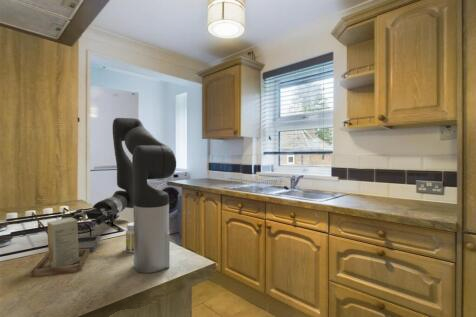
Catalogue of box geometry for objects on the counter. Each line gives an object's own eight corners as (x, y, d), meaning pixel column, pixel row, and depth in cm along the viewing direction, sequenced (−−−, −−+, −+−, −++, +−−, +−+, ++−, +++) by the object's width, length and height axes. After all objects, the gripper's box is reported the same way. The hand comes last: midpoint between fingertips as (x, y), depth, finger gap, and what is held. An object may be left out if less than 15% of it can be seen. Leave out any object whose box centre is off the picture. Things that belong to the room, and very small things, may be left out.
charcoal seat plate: (100, 239, 92) (100, 235, 92) (94, 251, 81) (94, 247, 81) (63, 242, 88) (63, 238, 88) (52, 255, 78) (52, 251, 78)
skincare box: (73, 258, 77) (73, 216, 76) (79, 262, 74) (78, 219, 73) (47, 265, 72) (46, 221, 71) (52, 270, 69) (51, 224, 68)
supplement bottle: (144, 247, 85) (144, 221, 85) (137, 253, 81) (137, 226, 80) (130, 246, 86) (130, 221, 86) (122, 252, 81) (122, 225, 81)
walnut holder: (89, 253, 80) (89, 248, 80) (80, 270, 69) (80, 265, 69) (48, 257, 76) (47, 252, 76) (31, 276, 65) (31, 271, 65)
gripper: (88, 198, 98) (60, 209, 82) (127, 199, 99) (106, 210, 83) (88, 218, 99) (60, 232, 83) (127, 218, 99) (106, 233, 83)
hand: (83, 221), depth 83 cm, fingers open, 8 cm apart
